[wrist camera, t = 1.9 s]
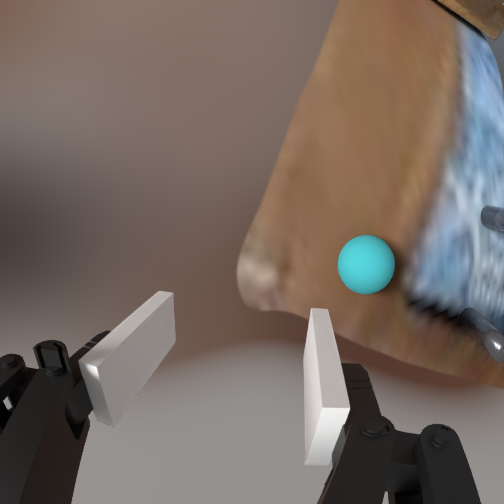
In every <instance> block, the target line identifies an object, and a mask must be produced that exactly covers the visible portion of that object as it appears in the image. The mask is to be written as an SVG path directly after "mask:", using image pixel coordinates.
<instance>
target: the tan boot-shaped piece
mask: <svg viewBox="0 0 504 504" xmlns="http://www.w3.org/2000/svg"><path fill="white" fill-rule="evenodd" d="M437 1H439V2H440V3H442V4H443V5H445V6H446V7H448V8H449V9H451V10H452V11H454V12H455V13H457V14H458V15H460V16H461V17H462V18H464V19H465V20H467V21H468V22H469V23H471V24H472V25H474V26H475V27H476V28H478V29H479V30H480V31H482V32H483V33H484V34H485V35H487V36H488V37H489V38H491V39H492V40H496V39H497V38H498V37H499V35H500V33H501V32H502V31H503V29H504V5H503V4H501V3H504V0H437Z"/></svg>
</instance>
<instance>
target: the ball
mask: <svg viewBox="0 0 504 504" xmlns="http://www.w3.org/2000/svg"><path fill="white" fill-rule="evenodd" d="M394 269H395V260H394V256H393V253H392V251H391V249H390V247H389V246H388V245H387V244H386V243H385V242H384V241H383V240H382V239H380V238H378V237H375V236H371V235H362V236H358V237H355V238H353V239H351V240H350V241H349V242H348V243H347V244H346V245H345V246H344V247H343V249H342V250H341V252H340V255H339V259H338V271H339V275H340V277H341V279H342V281H343V283H344V284H345V285H346V286H347V287H348V288H349V289H351V290H352V291H354V292H356V293H360V294H372V293H376V292H378V291H380V290H381V289H383V288H384V287H385V286H386V285H387V284H388V283H389V282H390V280H391V278H392V276H393V273H394Z"/></svg>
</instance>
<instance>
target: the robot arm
mask: <svg viewBox="0 0 504 504" xmlns="http://www.w3.org/2000/svg"><path fill="white" fill-rule="evenodd" d="M175 341H176V340H175V324H174V301H173V293H170V292H163V291H158V292H157V293H156V294H155V295H154V296H152V297H151V298H150V299H149V300H148V301H146V303H144V304H143V305H142V306H141V307H139V308H138V309H137V310H136V311H135V312H134V313H133V314H131V315H130V316H129V317H128V318H126V319H125V320H124V321H123V322H122V323H121V324H120V325H118V326H117V327H116V328H115V329H114V330H113V331H105V332H102V333H100V334H98V335H96V336H95V337H94V338H93V339H91V340H90V342H88V343H87V344H85V345H84V347H82V348H81V349H79V350H78V351H77V352H76V353H75V354H73V355H72V356H71V357H70V358H69V356H68V352H67V348H66V346H65V344H64V343H62V342H61V341H57V340H47V341H43V342H41V343H38V344H37V345H35V347H33V350H34V353H35V356H36V359H37V363H38V366H39V369H34V368H28V367H26V365H25V362H24V360H23V357H21V356H20V355H17V354H7V355H4V356H2V357H1V358H0V504H71V502H72V497H73V492H74V487H75V482H76V478H77V473H78V469H79V465H80V461H81V457H82V452H83V449H84V445H85V442H86V438H87V434H88V431H89V427H90V420H89V418H88V415H89V414H90V412H91V411H92V410H93V411H94V413H95V416H96V419H97V421H99V422H102V423H104V424H107V425H110V426H112V427H115V426H116V424H117V423H118V421H119V420H120V419H121V417H122V416H123V414H124V413H125V411H126V410H127V409H128V407H129V406H130V404H131V403H132V402H133V400H134V399H135V397H136V396H137V395H138V393H139V392H140V391H141V389H142V388H143V386H144V385H145V383H146V382H147V381H148V379H149V378H150V377H151V375H152V374H153V372H154V371H155V370H156V368H157V367H158V365H159V364H160V363H161V361H162V360H163V359H164V357H165V356H166V354H167V353H168V351H169V350H170V349H171V347H172V346H173V345H174V343H175ZM303 361H304V398H305V465H328V464H329V462H330V460H331V457H332V463H333V468H332V470H331V472H330V474H329V476H328V478H327V481H326V483H325V487H324V489H323V491H322V494H321V496H320V498H319V500H318V503H317V504H382V502H383V498H384V493H385V491H387V492H388V499H389V504H481V502H480V498H479V495H478V491H477V488H476V485H475V482H474V479H473V475H472V472H471V469H470V467H469V464H468V461H467V458H466V455H465V453H464V450H463V447H462V444H461V442H460V439H459V437H458V435H457V433H456V432H455V431H454V430H453V429H451V428H450V427H448V426H445V425H443V424H432V425H428V426H427V427H425V428H424V429H423V430H422V432H421V434H413V433H406V432H401V431H397V430H395V428H394V425H393V424H392V423H391V421H390V420H388V419H387V418H385V417H384V416H381V413H380V410H379V406H378V403H377V400H376V397H375V394H374V391H373V390H372V385H371V382H370V378H369V376H368V373H367V371H366V370H365V369H364V368H363V367H362V366H361V365H360V364H350V363H341V362H340V358H339V354H338V349H337V345H336V341H335V337H334V332H333V328H332V324H331V320H330V316H329V312H328V309H318V308H311V313H310V320H309V327H308V333H307V340H306V346H305V352H304V358H303ZM6 397H8V399H9V401H10V403H11V405H12V408H10V409H9V410H8V409H7V408H6V406H5V404H4V402H3V400H4V399H5V398H6Z"/></svg>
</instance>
